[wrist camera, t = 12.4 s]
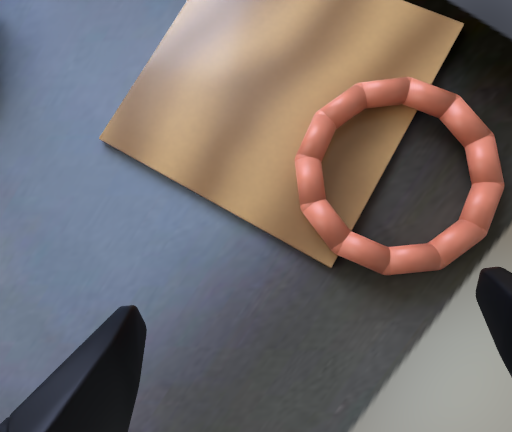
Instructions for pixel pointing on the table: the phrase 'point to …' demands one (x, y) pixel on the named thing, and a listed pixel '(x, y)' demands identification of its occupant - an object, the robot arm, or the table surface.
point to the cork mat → (276, 102)
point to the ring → (460, 125)
